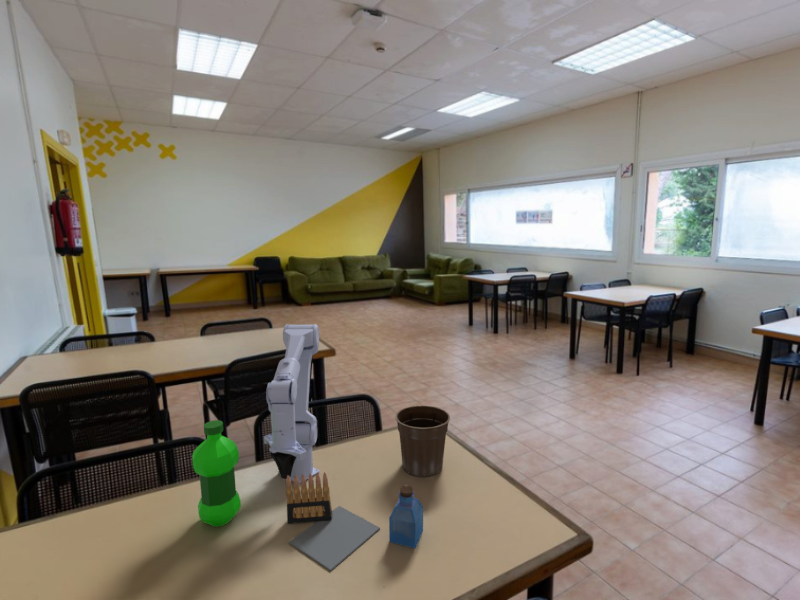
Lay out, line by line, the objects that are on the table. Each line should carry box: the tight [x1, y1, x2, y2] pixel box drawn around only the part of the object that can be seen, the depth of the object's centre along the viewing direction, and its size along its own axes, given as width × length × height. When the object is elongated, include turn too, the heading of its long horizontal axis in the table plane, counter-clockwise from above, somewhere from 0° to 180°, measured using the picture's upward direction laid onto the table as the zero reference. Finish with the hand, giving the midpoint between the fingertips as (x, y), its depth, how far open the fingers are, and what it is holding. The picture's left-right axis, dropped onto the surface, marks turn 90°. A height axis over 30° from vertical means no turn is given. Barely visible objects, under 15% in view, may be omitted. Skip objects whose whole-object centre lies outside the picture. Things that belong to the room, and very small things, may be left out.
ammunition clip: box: [285, 472, 333, 525], centre depth 104 cm, size 11×2×12 cm, turn 93°
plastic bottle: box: [191, 419, 242, 528], centre depth 104 cm, size 10×10×25 cm
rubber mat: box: [288, 505, 381, 572], centre depth 100 cm, size 14×16×1 cm
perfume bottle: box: [388, 484, 424, 549], centre depth 99 cm, size 6×6×12 cm
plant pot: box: [394, 405, 451, 478], centre depth 128 cm, size 16×16×16 cm
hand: (286, 477), depth 109 cm, fingers closed
